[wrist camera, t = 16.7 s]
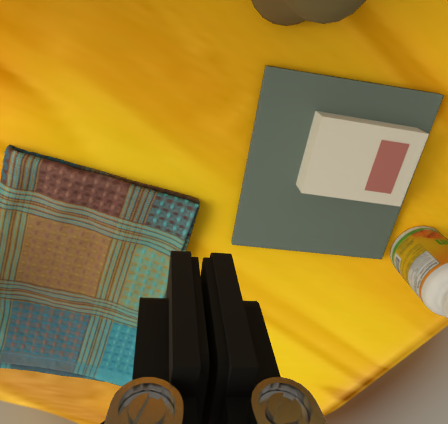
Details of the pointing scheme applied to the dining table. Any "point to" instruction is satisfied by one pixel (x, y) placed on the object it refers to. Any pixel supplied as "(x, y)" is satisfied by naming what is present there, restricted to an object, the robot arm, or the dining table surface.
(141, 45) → the dining table surface
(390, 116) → the mat
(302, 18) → the pepper shaker
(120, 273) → the dish towel
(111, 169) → the dining table surface
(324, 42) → the dining table surface
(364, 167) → the card box
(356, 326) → the dining table surface
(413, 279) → the supplement bottle
